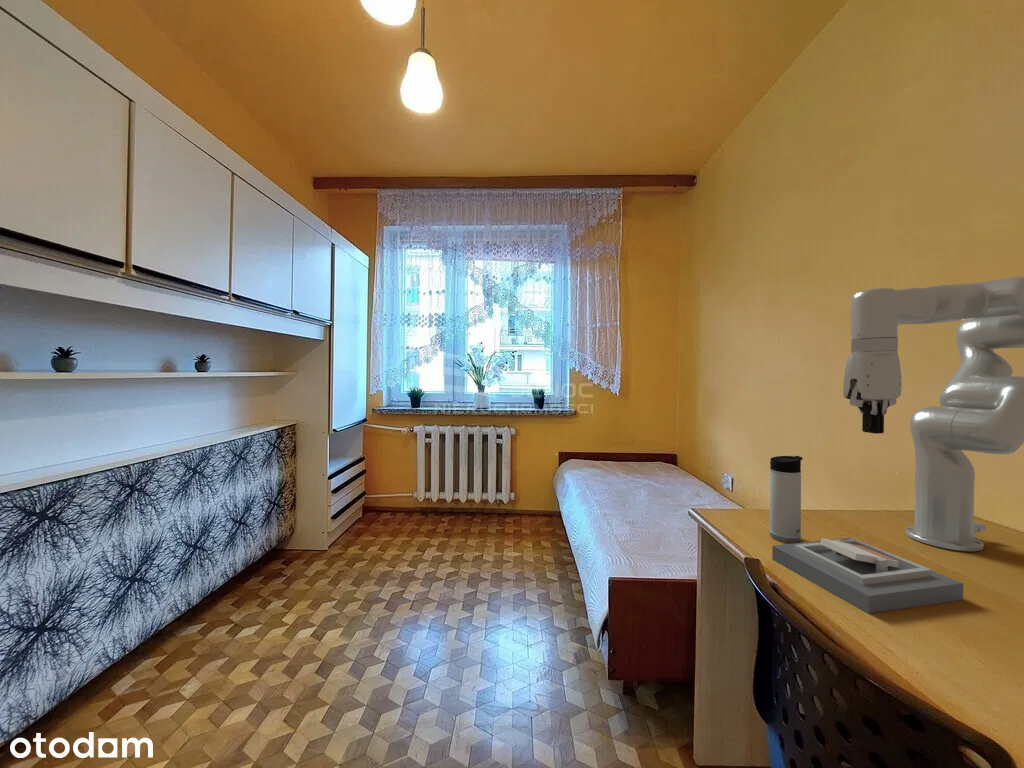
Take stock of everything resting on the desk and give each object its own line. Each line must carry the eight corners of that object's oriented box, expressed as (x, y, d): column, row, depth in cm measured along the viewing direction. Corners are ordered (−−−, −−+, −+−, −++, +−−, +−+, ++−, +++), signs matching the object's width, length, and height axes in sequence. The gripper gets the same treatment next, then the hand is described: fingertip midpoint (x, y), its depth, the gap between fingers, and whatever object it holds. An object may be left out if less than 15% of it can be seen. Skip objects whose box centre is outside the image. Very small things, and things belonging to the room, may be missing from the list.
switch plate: (850, 550, 91) (850, 526, 91) (963, 599, 71) (963, 568, 71) (772, 559, 88) (772, 533, 87) (868, 613, 68) (868, 580, 68)
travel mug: (807, 544, 95) (808, 459, 94) (776, 542, 96) (776, 458, 96) (794, 533, 101) (795, 453, 100) (765, 531, 102) (765, 453, 102)
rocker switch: (860, 551, 84) (861, 545, 84) (897, 567, 77) (899, 560, 77) (820, 544, 82) (821, 537, 82) (854, 559, 75) (856, 552, 75)
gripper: (883, 348, 92) (882, 428, 93) (827, 348, 89) (827, 431, 90) (922, 346, 85) (921, 433, 85) (862, 346, 82) (861, 436, 83)
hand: (872, 432), depth 88 cm, fingers closed
